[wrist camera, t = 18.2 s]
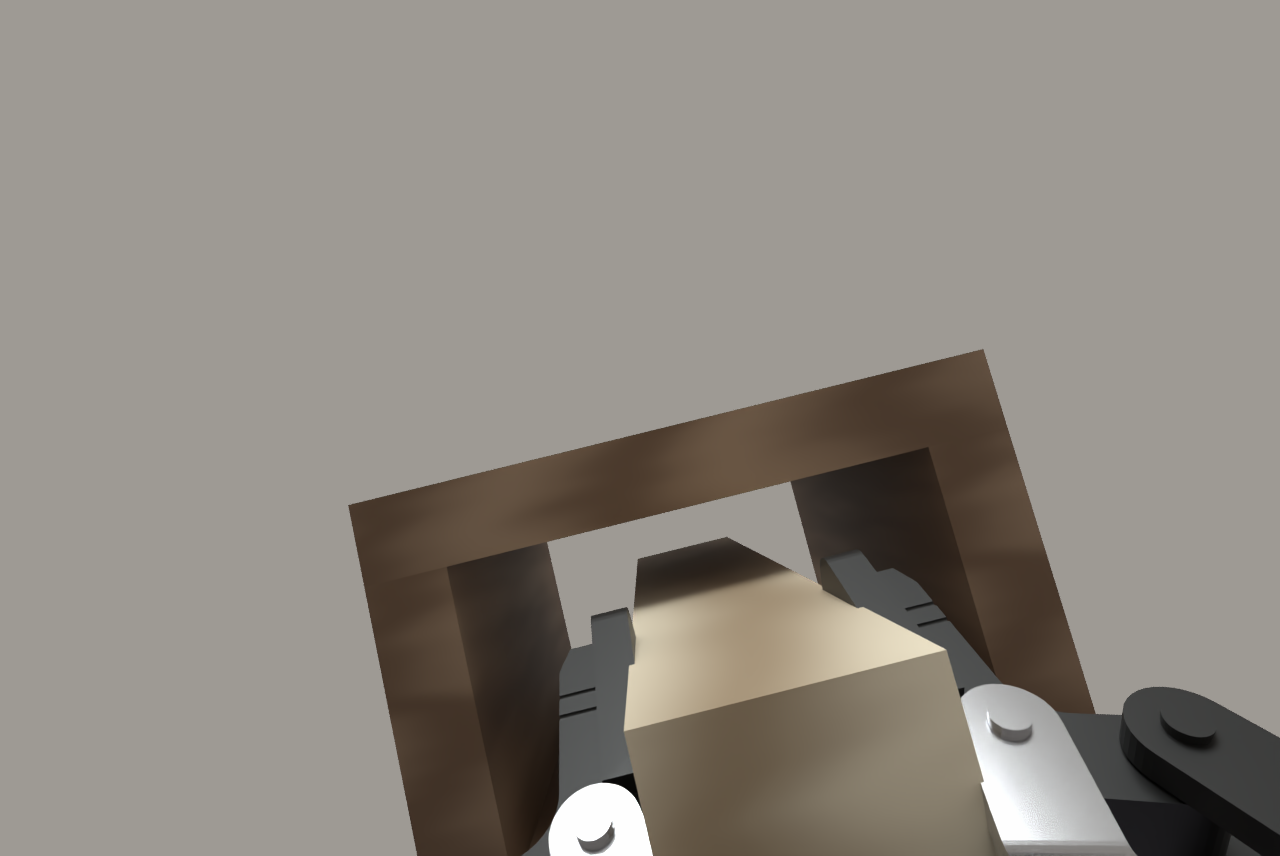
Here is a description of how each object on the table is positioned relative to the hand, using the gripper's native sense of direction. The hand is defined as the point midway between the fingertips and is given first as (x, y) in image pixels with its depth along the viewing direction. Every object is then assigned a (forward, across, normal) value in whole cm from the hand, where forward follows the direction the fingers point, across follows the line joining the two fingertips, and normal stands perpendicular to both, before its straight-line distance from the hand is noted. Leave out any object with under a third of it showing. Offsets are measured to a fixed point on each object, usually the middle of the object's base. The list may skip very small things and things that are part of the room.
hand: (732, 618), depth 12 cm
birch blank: (+3, 0, -5) cm, 6 cm away
